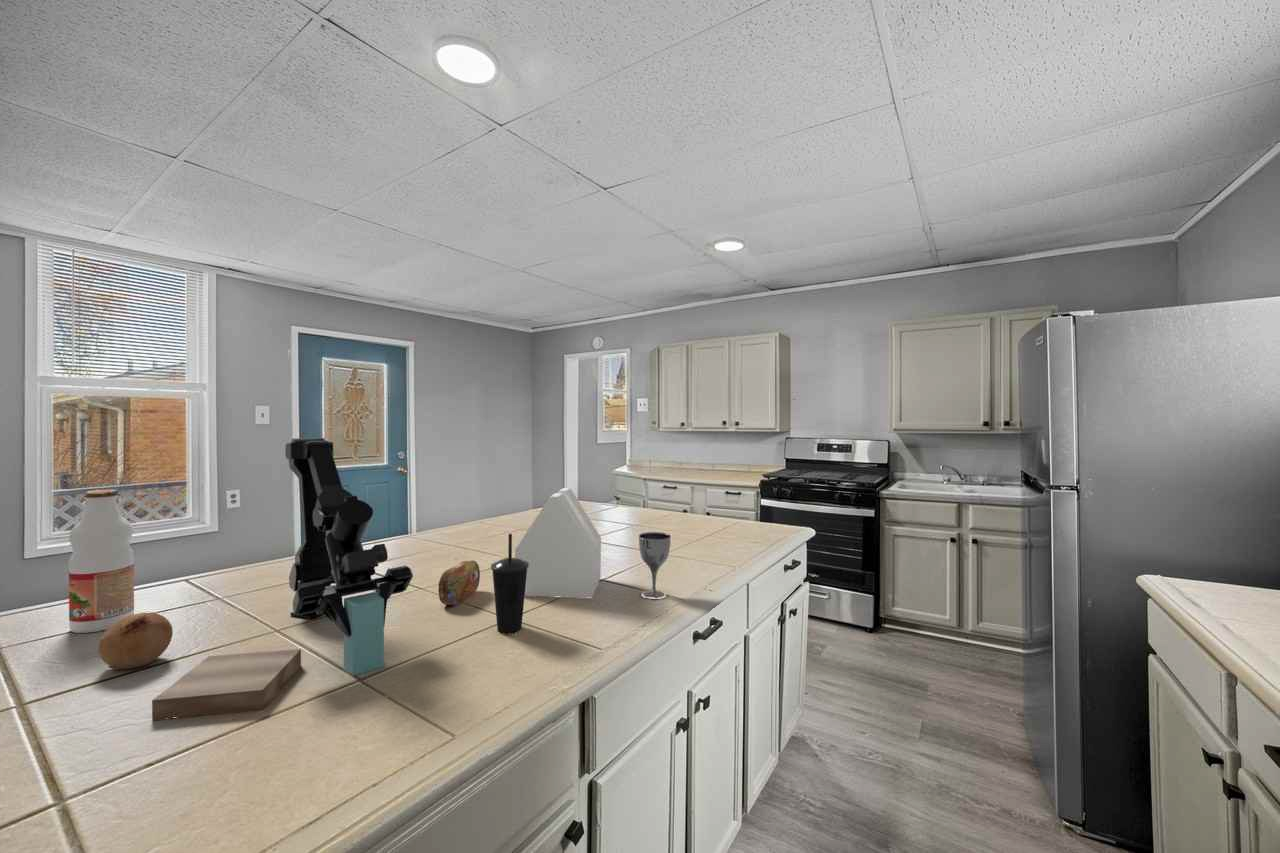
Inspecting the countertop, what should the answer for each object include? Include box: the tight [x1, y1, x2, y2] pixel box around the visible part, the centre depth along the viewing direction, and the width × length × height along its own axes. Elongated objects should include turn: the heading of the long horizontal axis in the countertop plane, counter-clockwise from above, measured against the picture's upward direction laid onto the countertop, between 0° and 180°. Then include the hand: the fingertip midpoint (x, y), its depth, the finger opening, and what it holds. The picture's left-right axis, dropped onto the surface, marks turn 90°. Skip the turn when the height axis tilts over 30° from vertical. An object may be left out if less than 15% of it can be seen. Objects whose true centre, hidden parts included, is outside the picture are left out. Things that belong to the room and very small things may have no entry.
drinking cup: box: [490, 533, 529, 635], centre depth 108 cm, size 8×8×20 cm
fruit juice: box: [68, 489, 135, 634], centre depth 108 cm, size 9×9×28 cm
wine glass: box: [638, 531, 672, 598], centre depth 130 cm, size 8×8×15 cm
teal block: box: [343, 591, 385, 677], centre depth 92 cm, size 5×5×12 cm
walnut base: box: [151, 648, 302, 721], centre depth 83 cm, size 14×14×3 cm
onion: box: [97, 611, 174, 670], centre depth 91 cm, size 10×9×10 cm
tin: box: [438, 560, 481, 607], centre depth 126 cm, size 15×3×8 cm, turn 168°
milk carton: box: [514, 487, 602, 598], centre depth 135 cm, size 19×15×25 cm
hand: (366, 631), depth 91 cm, fingers closed on teal block, 5 cm apart
